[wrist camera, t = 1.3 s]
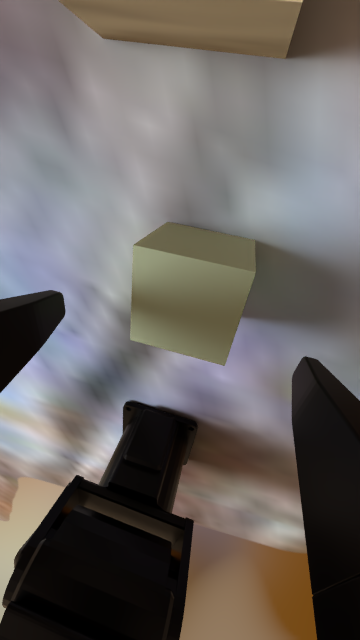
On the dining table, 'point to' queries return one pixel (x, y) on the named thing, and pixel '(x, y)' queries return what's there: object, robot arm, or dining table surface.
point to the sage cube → (190, 290)
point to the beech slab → (195, 23)
